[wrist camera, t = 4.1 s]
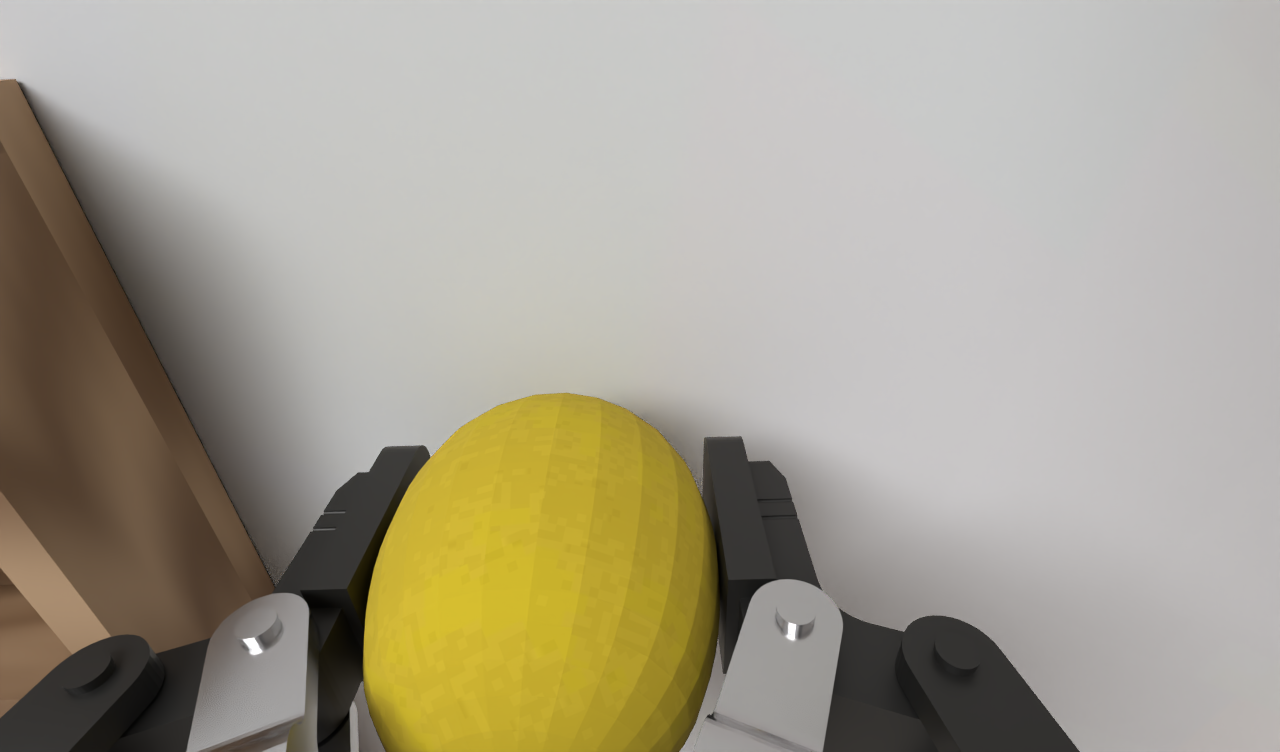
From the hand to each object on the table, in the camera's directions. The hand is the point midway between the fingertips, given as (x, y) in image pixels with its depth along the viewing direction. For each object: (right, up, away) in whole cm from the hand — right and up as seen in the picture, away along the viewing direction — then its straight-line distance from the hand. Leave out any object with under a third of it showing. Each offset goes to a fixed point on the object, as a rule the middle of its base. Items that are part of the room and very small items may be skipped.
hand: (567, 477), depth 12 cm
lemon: (0, +1, +1) cm, 2 cm away
